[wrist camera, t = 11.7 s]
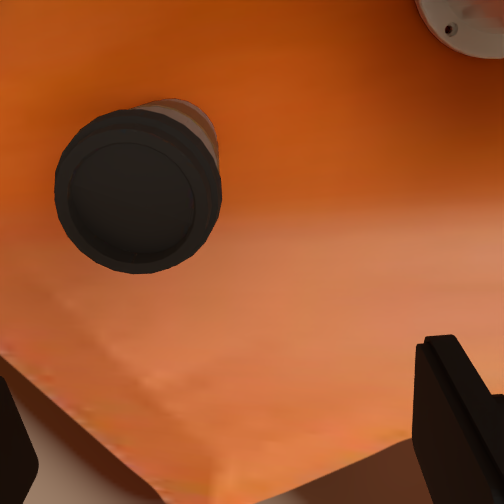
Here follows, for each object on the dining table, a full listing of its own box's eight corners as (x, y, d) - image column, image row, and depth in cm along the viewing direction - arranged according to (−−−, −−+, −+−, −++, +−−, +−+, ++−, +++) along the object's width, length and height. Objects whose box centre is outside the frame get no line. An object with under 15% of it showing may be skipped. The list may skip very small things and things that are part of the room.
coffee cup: (210, 208, 39) (190, 303, 25) (109, 173, 37) (29, 254, 24) (246, 107, 35) (244, 154, 22) (136, 65, 34) (61, 87, 20)
